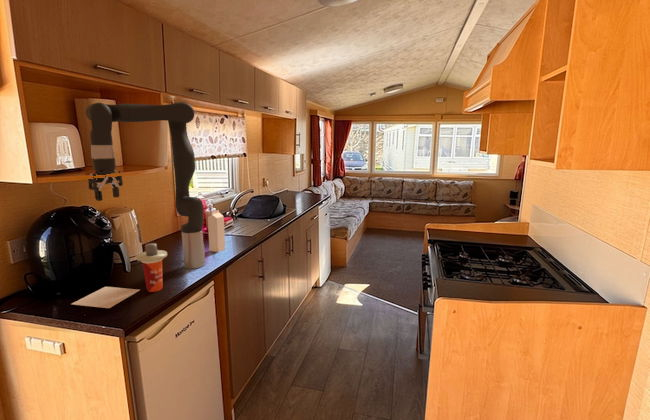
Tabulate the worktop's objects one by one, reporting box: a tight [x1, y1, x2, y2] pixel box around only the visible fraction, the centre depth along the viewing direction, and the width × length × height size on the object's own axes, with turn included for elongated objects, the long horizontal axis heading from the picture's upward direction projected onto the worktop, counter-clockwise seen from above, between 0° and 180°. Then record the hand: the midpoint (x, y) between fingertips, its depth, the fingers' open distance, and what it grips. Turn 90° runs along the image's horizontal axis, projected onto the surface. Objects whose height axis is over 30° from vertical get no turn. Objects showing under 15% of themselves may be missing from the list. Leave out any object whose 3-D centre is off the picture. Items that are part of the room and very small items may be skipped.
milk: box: [207, 209, 226, 253], centre depth 191 cm, size 6×6×22 cm
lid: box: [135, 242, 168, 262], centre depth 137 cm, size 11×11×5 cm
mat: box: [71, 286, 141, 309], centre depth 133 cm, size 16×16×1 cm
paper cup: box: [140, 258, 164, 293], centre depth 139 cm, size 8×8×14 cm
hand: (108, 198), depth 138 cm, fingers open, 8 cm apart
